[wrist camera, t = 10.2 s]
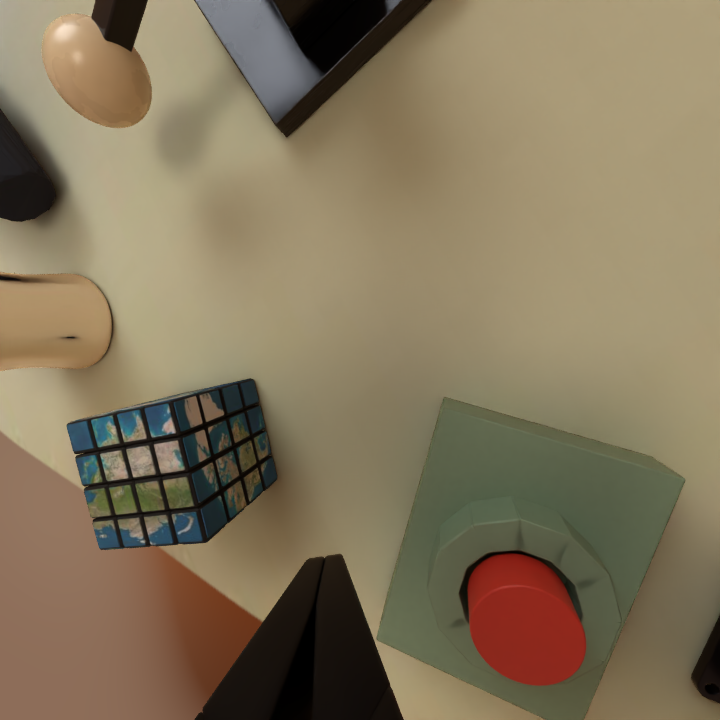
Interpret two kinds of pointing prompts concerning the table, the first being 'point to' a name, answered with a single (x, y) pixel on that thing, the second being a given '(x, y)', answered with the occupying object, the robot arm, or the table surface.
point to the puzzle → (173, 466)
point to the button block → (524, 542)
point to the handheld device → (21, 178)
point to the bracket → (303, 46)
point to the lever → (100, 63)
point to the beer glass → (52, 321)
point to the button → (524, 620)
